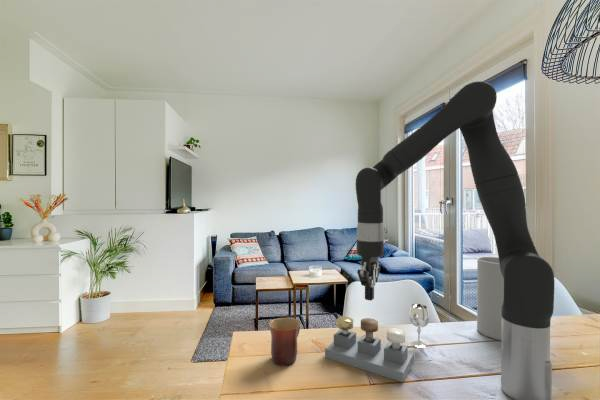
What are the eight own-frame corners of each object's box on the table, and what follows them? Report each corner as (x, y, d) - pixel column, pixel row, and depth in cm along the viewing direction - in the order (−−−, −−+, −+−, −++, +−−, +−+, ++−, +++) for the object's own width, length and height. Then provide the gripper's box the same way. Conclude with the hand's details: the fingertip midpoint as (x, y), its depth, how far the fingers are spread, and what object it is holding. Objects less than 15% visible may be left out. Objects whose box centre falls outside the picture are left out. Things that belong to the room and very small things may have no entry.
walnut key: (380, 341, 88) (380, 320, 88) (374, 348, 84) (374, 326, 84) (364, 337, 90) (364, 317, 90) (358, 343, 86) (358, 322, 86)
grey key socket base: (414, 360, 86) (414, 341, 86) (403, 382, 76) (403, 360, 76) (342, 341, 98) (342, 324, 98) (324, 357, 88) (325, 338, 88)
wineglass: (430, 349, 92) (430, 310, 92) (410, 348, 94) (410, 308, 93) (426, 341, 98) (426, 303, 98) (407, 339, 99) (408, 302, 99)
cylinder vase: (468, 329, 107) (469, 258, 107) (492, 324, 112) (493, 255, 112) (504, 345, 96) (505, 265, 95) (529, 338, 100) (530, 262, 100)
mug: (288, 372, 80) (288, 333, 80) (262, 362, 85) (262, 325, 85) (310, 352, 90) (310, 317, 90) (286, 345, 95) (286, 312, 95)
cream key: (407, 352, 84) (407, 330, 84) (402, 360, 79) (402, 337, 79) (389, 348, 86) (389, 326, 86) (384, 355, 82) (384, 333, 82)
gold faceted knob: (355, 338, 92) (355, 318, 92) (349, 345, 88) (349, 324, 88) (341, 334, 94) (341, 315, 94) (334, 340, 90) (334, 320, 90)
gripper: (375, 242, 79) (374, 309, 79) (390, 237, 90) (389, 295, 90) (348, 240, 83) (347, 303, 83) (365, 235, 94) (365, 291, 94)
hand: (369, 299), depth 87 cm, fingers closed
